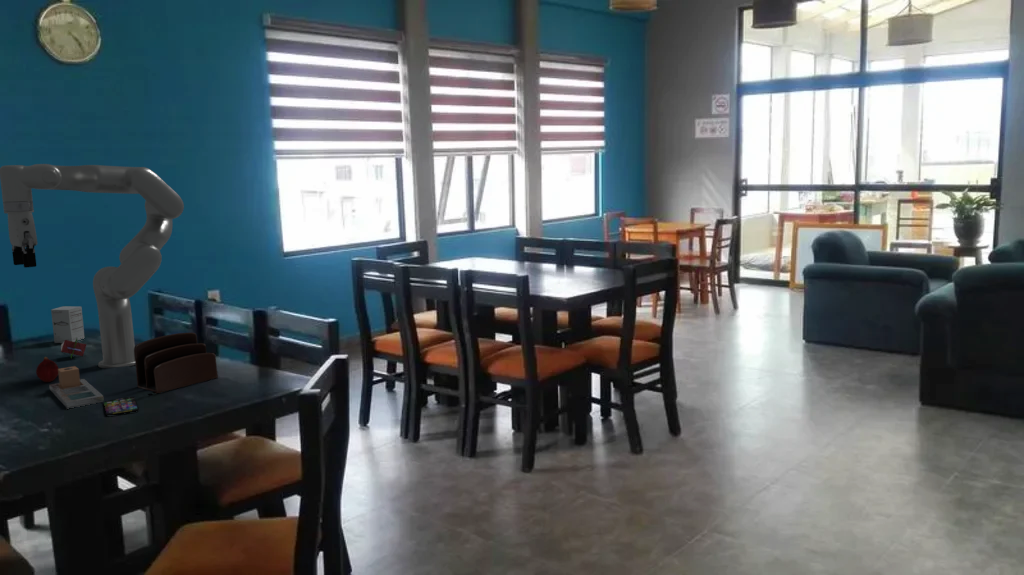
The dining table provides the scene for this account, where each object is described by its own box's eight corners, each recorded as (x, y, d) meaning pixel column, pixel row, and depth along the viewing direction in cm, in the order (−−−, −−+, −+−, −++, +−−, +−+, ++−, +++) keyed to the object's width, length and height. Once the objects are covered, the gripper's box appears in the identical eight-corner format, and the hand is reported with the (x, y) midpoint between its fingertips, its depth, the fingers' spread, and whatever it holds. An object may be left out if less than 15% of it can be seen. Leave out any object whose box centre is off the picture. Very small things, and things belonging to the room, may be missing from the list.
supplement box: (53, 343, 300) (49, 309, 298) (67, 339, 307) (64, 305, 305) (72, 343, 299) (68, 309, 297) (85, 339, 306) (82, 305, 304)
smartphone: (135, 396, 226) (139, 409, 213) (135, 399, 227) (139, 413, 214) (103, 400, 223) (105, 415, 210) (103, 404, 223) (106, 418, 210)
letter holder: (137, 389, 236) (132, 341, 233) (198, 374, 252) (194, 328, 249) (156, 394, 230) (151, 345, 228) (218, 378, 246) (214, 332, 244)
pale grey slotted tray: (84, 385, 241) (83, 378, 241) (104, 403, 222) (103, 395, 222) (50, 391, 236) (49, 384, 235) (67, 409, 217) (66, 402, 217)
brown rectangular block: (77, 386, 238) (75, 365, 237) (80, 389, 234) (78, 368, 233) (60, 389, 235) (57, 368, 234) (63, 392, 232) (60, 371, 231)
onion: (64, 381, 246) (61, 355, 245) (46, 386, 241) (43, 360, 240) (51, 379, 248) (48, 353, 247) (33, 384, 243) (30, 358, 242)
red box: (90, 347, 283) (73, 330, 279) (92, 350, 277) (74, 333, 273) (73, 361, 280) (55, 345, 277) (74, 365, 275) (56, 349, 271)
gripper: (42, 207, 238) (48, 266, 241) (23, 206, 250) (30, 262, 253) (13, 209, 233) (19, 269, 235) (-5, 207, 245) (2, 265, 247)
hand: (25, 265), depth 244 cm, fingers open, 9 cm apart
